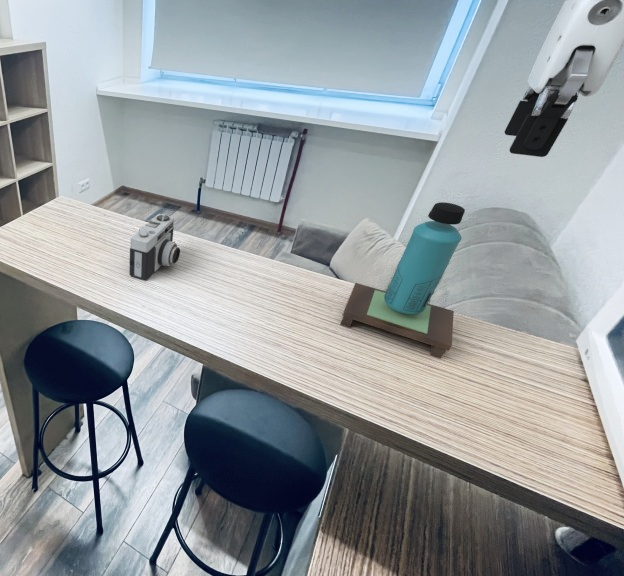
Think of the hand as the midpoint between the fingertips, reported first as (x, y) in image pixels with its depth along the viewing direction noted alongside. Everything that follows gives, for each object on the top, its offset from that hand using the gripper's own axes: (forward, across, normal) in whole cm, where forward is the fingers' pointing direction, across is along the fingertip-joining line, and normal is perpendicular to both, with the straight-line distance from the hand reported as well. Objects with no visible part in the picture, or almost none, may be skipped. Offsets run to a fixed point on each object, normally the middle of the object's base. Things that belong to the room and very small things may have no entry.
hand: (522, 144), depth 49 cm
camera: (+35, +1, +49) cm, 60 cm away
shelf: (+35, +8, +3) cm, 36 cm away
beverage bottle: (+31, +8, +3) cm, 32 cm away
